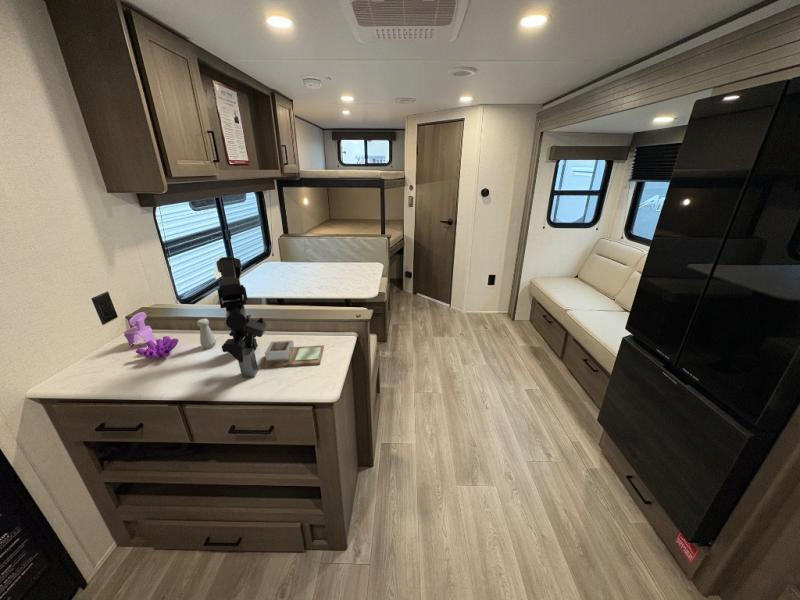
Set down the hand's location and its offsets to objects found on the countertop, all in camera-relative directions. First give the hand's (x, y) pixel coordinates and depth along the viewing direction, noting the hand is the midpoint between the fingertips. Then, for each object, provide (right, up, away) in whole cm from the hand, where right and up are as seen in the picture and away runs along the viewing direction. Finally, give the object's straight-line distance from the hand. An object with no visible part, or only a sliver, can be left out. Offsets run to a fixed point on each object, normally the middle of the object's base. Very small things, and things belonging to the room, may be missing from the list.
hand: (246, 355), depth 113 cm
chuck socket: (+8, -4, +13) cm, 16 cm away
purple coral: (-44, -3, +16) cm, 46 cm away
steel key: (0, -8, +3) cm, 9 cm away
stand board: (+13, -3, +14) cm, 20 cm away
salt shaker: (-27, 0, +22) cm, 35 cm away
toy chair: (-59, +1, +25) cm, 64 cm away
